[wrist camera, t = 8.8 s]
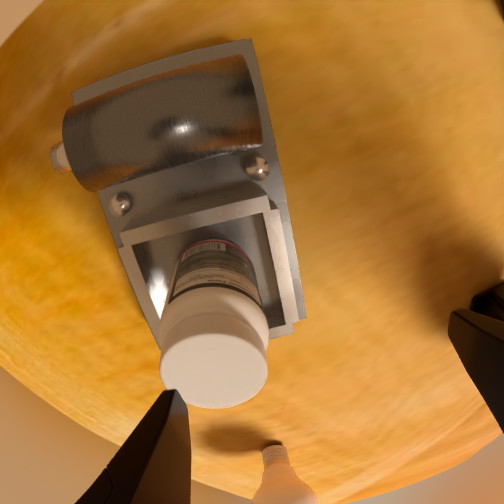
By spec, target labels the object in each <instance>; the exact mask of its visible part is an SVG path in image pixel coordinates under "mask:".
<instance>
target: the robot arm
mask: <svg viewBox="0 0 504 504" xmlns="http://www.w3.org/2000/svg"><path fill="white" fill-rule="evenodd" d="M448 336H449V338H450V340H451V342H452V344H453V346H454V348H455V350H456V352H457V354H458V356H459V358H460V360H461V362H462V364H463V366H464V367H465V369H466V371H467V373H468V374H469V376H470V378H471V379H472V381H473V382H474V384H475V386H476V387H477V389H478V390H479V392H480V394H481V395H482V397H483V399H484V400H485V402H486V404H487V405H488V407H489V409H490V410H491V412H492V414H493V415H494V417H495V419H496V421H497V422H498V424H499V426H500V428H501V430H502V431H503V433H504V283H503V284H501V285H498V286H496V287H494V288H492V289H490V290H487V291H485V292H483V293H481V294H478V295H476V296H475V297H474V298H473V300H472V304H471V310H467V309H464V308H459V309H456V310H454V311H452V312H451V314H450V318H449V325H448ZM190 496H191V441H190V430H189V418H188V409H187V406H186V404H185V402H184V400H183V399H182V397H181V395H180V393H179V392H178V390H177V389H168V390H164V391H163V392H162V393H161V394H160V396H159V397H158V398H157V400H156V401H155V402H154V404H153V405H152V406H151V408H150V409H149V410H148V412H147V413H146V414H145V416H144V417H143V418H142V420H141V421H140V422H139V424H138V425H137V426H136V428H135V429H134V430H133V432H132V433H131V434H130V436H129V437H128V438H127V440H126V441H125V442H124V444H123V445H122V446H121V448H120V449H119V450H118V452H117V453H116V454H115V456H114V457H113V458H112V460H111V461H110V462H109V464H108V465H107V468H105V469H104V470H103V471H102V473H101V474H100V475H99V477H98V478H97V479H96V480H95V481H94V483H93V484H92V485H91V486H90V488H89V489H88V490H87V491H86V492H85V493H84V494H83V495H82V496H81V497H80V499H78V500H77V502H76V503H75V504H190Z"/></svg>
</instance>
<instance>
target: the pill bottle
mask: <svg viewBox="0 0 504 504" xmlns="http://www.w3.org/2000/svg"><path fill="white" fill-rule="evenodd" d="M159 340H160V345H161V347H162V348H161V358H160V364H159V371H160V376H161V379H162V382H163V384H164V385H165V387H166V388H167V389H177V390H178V392H179V393H180V395H181V397H182V399H183V400H184V402H186V403H188V404H191V405H194V406H197V407H202V408H213V409H216V408H227V407H232V406H236V405H239V404H241V403H243V402H245V401H247V400H249V399H251V398H252V397H253V396H255V395H256V394H257V393H258V392H259V391H260V389H261V388H262V387H263V385H264V383H265V381H266V378H267V372H268V369H267V361H266V349H267V346H268V341H269V329H268V324H267V319H266V315H265V311H264V307H263V303H262V299H261V294H260V291H259V287H258V283H257V279H256V274H255V270H254V267H253V264H252V262H251V260H250V258H249V257H248V256H247V255H246V253H245V252H244V251H243V250H241V249H240V248H239V247H237V246H236V245H234V244H232V243H230V242H227V241H224V240H216V239H212V240H204V241H200V242H197V243H195V244H193V245H191V246H190V247H188V248H187V249H186V250H185V251H184V252H183V253H182V254H181V255H180V257H179V258H178V260H177V262H176V264H175V267H174V270H173V274H172V278H171V282H170V285H169V289H168V293H167V297H166V300H165V304H164V308H163V311H162V315H161V319H160V324H159Z"/></svg>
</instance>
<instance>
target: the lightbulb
mask: <svg viewBox="0 0 504 504" xmlns="http://www.w3.org/2000/svg"><path fill="white" fill-rule="evenodd" d="M262 455H263V456H262V457H263V461H264V462H263V464H264V472H263V475H262V483H261V485H260V487H259V488H258V490H257V491H256V493H255V495H254V497H253V499H252V502H251V504H318V500H317V497H316V494H315V493H314V491H313V490H312V489H311V488H310V487H309V486H308V485H307V484H306V483H304V482H303V481H302V480H300V479H299V478H298V477H297V475H296V473H295V471H294V469H293V468H292V467H291V466H290V463H289V459H288V454H287V449H286V447H284V446H281V445H271V446H269V447H267V448H265V449H264V450H263V451H262Z"/></svg>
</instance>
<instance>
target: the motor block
mask: <svg viewBox="0 0 504 504" xmlns="http://www.w3.org/2000/svg"><path fill="white" fill-rule="evenodd" d="M72 97H73V102H74V106H72V107H70V108H69V109H68V110H67V111H66V113H65V116H64V120H63V127H62V135H63V141H61V142H58V143H56V144H54V145H53V146H52V147H51V151H50V157H51V162H52V165H53V167H54V169H55V170H56V171H57V172H58V173H59V174H65V173H67V172H70V171H72V172H73V173H74V175H75V177H76V178H77V180H78V181H79V183H80V184H81V185H82V186H83V187H84V188H85V189H87V190H88V191H90V192H98V195H99V199H100V202H101V205H102V208H103V211H104V214H105V217H106V220H107V223H108V225H109V228H110V231H111V234H112V237H113V240H114V242H115V245H116V248H117V250H118V253H119V256H120V258H121V261H122V263H123V266H124V269H125V271H126V274H127V276H128V279H129V281H130V284H131V286H132V288H133V291H134V293H135V296H136V298H137V300H138V303H139V305H140V307H141V309H142V312H143V314H144V316H145V318H146V321H147V323H148V325H149V327H150V329H151V332H152V334H153V336H154V338H155V340H156V342H157V344H158V346H159V349H160V350H161V348H162V347H161V345H160V340H159V324H160V319H161V315H162V311H163V308H164V304H165V300H166V297H167V293H168V289H169V285H170V282H171V278H172V274H173V270H174V267H175V264H176V262H177V260H178V258H179V257H180V255H181V254H182V253H183V252H184V251H185V250H186V249H187V248H188V247H190V246H191V245H193V244H195V243H197V242H200V241H204V240H212V239H216V240H224V241H227V242H230V243H232V244H234V245H236V246H237V247H239V248H240V249H241V250H243V251H244V252H245V253H246V255H247V256H248V257H249V258H250V260H251V262H252V264H253V267H254V270H255V274H256V279H257V283H258V287H259V291H260V294H261V299H262V303H263V307H264V311H265V315H266V319H267V324H268V329H269V339H273V338H278V337H282V336H286V335H290V334H294V328H293V323H295V322H299V320H300V319H304V318H307V317H306V311H305V304H304V298H303V292H302V285H301V279H300V273H299V267H298V261H297V255H296V250H295V244H294V238H293V233H292V227H291V221H290V216H289V211H288V205H287V200H286V195H285V189H284V184H283V179H282V174H281V169H280V164H279V159H278V154H277V149H276V144H275V140H274V135H273V130H272V125H271V121H270V116H269V112H268V107H267V103H266V98H265V94H264V89H263V85H262V81H261V76H260V72H259V68H258V63H257V59H256V55H255V51H254V47H253V43H252V39H251V38H249V39H244V40H238V41H233V42H228V43H223V44H218V45H213V46H209V47H204V48H200V49H196V50H192V51H188V52H184V53H181V54H177V55H173V56H170V57H166V58H163V59H159V60H156V61H153V62H150V63H147V64H144V65H141V66H138V67H135V68H132V69H129V70H126V71H123V72H121V73H118V74H115V75H112V76H110V77H107V78H105V79H102V80H100V81H97V82H95V83H92V84H90V85H88V86H85V87H83V88H81V89H78V90H76V91H74V92H72Z"/></svg>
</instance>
